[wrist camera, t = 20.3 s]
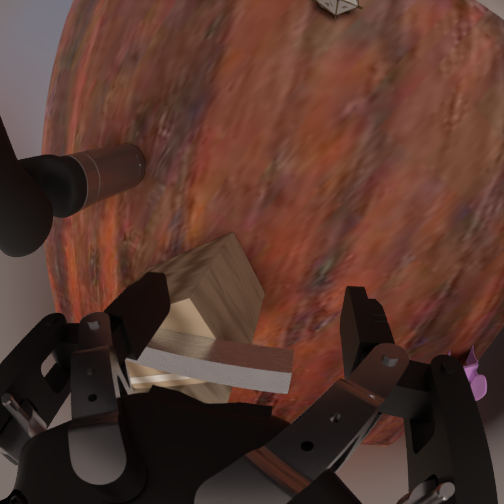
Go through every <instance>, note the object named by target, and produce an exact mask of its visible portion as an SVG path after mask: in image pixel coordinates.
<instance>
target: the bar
mask: <svg viewBox="0 0 504 504" xmlns="http://www.w3.org/2000/svg"><path fill="white" fill-rule="evenodd" d="M293 355H294V350H293V349H284V348H275V347H267V346H259V345H252V344H245V343H238V342H232V341H225V340H219V339H213V338H208V337H202V336H197V335H192V334H186V333H181V332H176V331H172V330H167V329H162V328H159V329H158V330H157V332H156V333H155V335H154V336H153V338H152V339H151V340H150V342H149V343H148V345H147V346H146V348H145V349H144V351H143V352H142V354H141V355H140V357H139V358H138V360H137V361H136V360H132V359H129V358H126V361H130V362H133V363H136V364H139V365H143V366H146V367H150V368H153V369H157V370H161V371H165V372H168V373H172V374H176V375H181V376H185V377H189V378H193V379H198V380H203V381H207V382H212V383H218V384H223V385H228V386H234V387H240V388H246V389H253V390H260V391H267V392H275V393H284V394H288V389H289V384H290V379H291V374H292V365H293Z"/></svg>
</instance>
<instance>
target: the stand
mask: <svg viewBox="0 0 504 504" xmlns="http://www.w3.org/2000/svg"><path fill="white" fill-rule="evenodd" d="M149 271H150V272H160V273H164V274H165V276H166V280H167V285H168V291H169V296H170V302H171V307H170V312H169V314H168V316H167V317H166V319H165V320H164V321H163V323H162V324H161V326H160V327H159V328H162V329H167V330H172V331H176V332H181V333H186V334H192V335H197V336H202V337H208V338H213V339H219V340H225V341H232V342H238V343H245V344H252V341H253V337H254V333H255V329H256V326H257V322H258V318H259V314H260V310H261V306H262V302H263V298H264V295H265V292H264V290H263V288H262V286H261V284H260V282H259V280H258V279H257V277H256V275H255V273H254V271H253V269H252V267H251V265H250V263H249V261H248V259H247V257H246V255H245V253H244V251H243V249H242V247H241V245H240V243H239V242H238V240H237V238H236V236H235V234H234V232H232V233H230V234H227V235H225V236H222V237H220V238H218V239H215V240H213V241H210V242H208V243H206V244H203V245H201V246H199V247H196V248H194V249H191V250H189V251H187V252H184V253H182V254H180V255H177V256H175V257H173V258H171V259H168V260H166V261H164V262H161V263H159V264H157V265H154V266H152V267H150V268H148V269H146V270H145V271H144V272H143V273H142V274H141V275H140V276H139V277H138V278H137V279H136V280H135V281H134V282H136V281H139V280H140V279H141V278H142V277H143V276H144V275H145V274H146V273H147V272H149ZM134 282H133V283H134ZM133 283H132V284H133ZM125 361H126V360H125ZM126 363H127V366H128V371H129V375H130V380H131V385H132V389H133V393H143V392H149V390H150V388H151V387H152V385H156V386H160V387H164V388H168V389H172V390H177V391H180V392H182V393H184V394H186V395H188V396H191V397H193V398H195V399H197V400H199V401H202V402H204V403H209V404H212V403H228V399H229V396H230V393H231V390H232V386H228V385H223V384H218V383H212V382H207V381H203V380H198V379H193V378H189V377H185V376H181V375H176V374H172V373H168V372H165V371H161V370H157V369H153V368H150V367H146V366H143V365H139V364H136V363H133V362H130V361H126Z"/></svg>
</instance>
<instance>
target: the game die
mask: <svg viewBox="0 0 504 504" xmlns="http://www.w3.org/2000/svg"><path fill="white" fill-rule="evenodd" d="M310 1H314V0H310ZM315 1H316V2H317V3H318V4H319V5H320V7H319V9H322V7H323V8H324V9H326V10H327V11H329V12H330V13H332V14H333V15H335V16H334V19H335V20H336V19H337V15H340V14H342V13H345V12H347V13H350V12H349V11H350V10H352V9H355V8H359V9H363V8H362V7H361V6H359V2H358V0H315Z"/></svg>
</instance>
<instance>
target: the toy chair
mask: <svg viewBox="0 0 504 504" xmlns="http://www.w3.org/2000/svg"><path fill="white" fill-rule="evenodd" d="M448 355H449V356H451V355H450V351H449V353H448ZM466 363H467V365H468V366H463V367H464V370H465V372H466V375H467V378H468V380H469V382H471V385H470V386H471V389H472V392H473V395H474V398H475V401H477V400H479V399H481V398H482V397H483V396H484V395H485V394H486V390H487V384H486V378H485V376H484V375H478V373H477V372H476V369H477V368H478V360H477V359H476V357H475V355H474V346H472V348H471V350H470V353H469V355H468V358H467V360H466Z"/></svg>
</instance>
